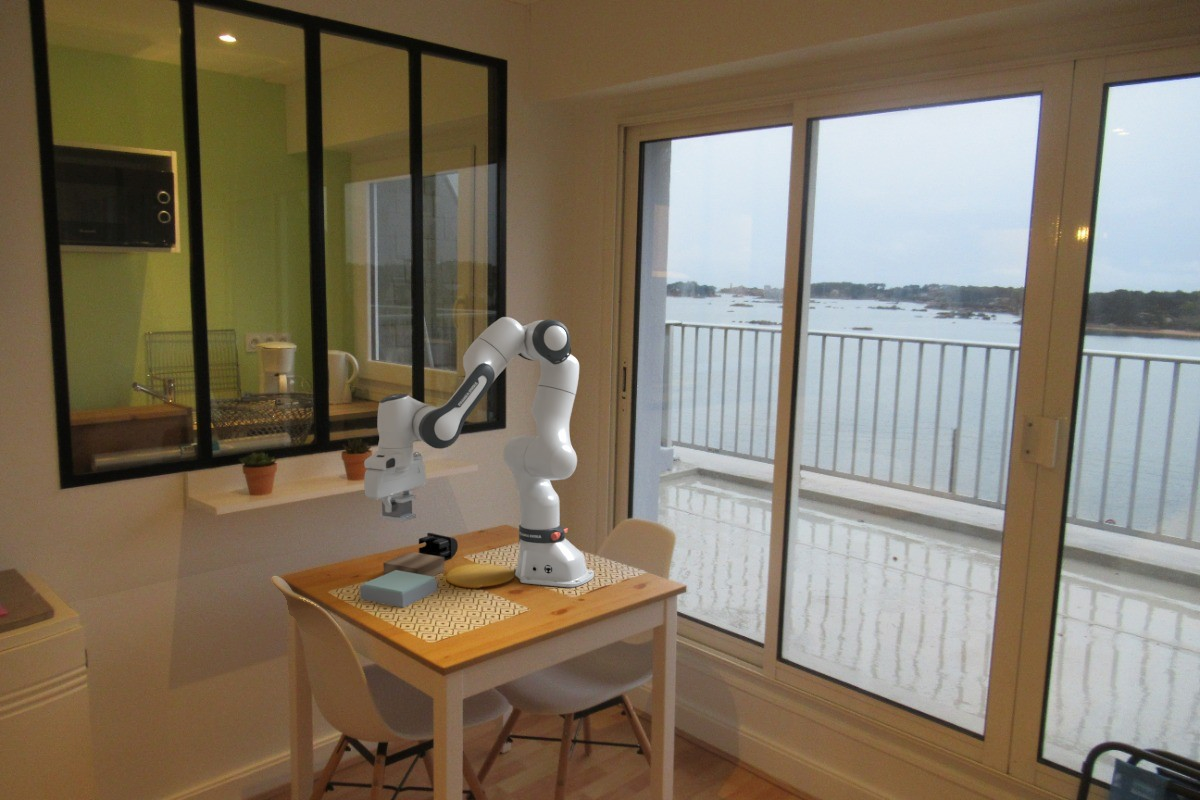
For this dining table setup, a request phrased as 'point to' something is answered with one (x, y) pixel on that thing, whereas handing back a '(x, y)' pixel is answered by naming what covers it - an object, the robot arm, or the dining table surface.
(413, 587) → the stand
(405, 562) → the stand
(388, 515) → the block
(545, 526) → the robot arm
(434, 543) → the end cap
